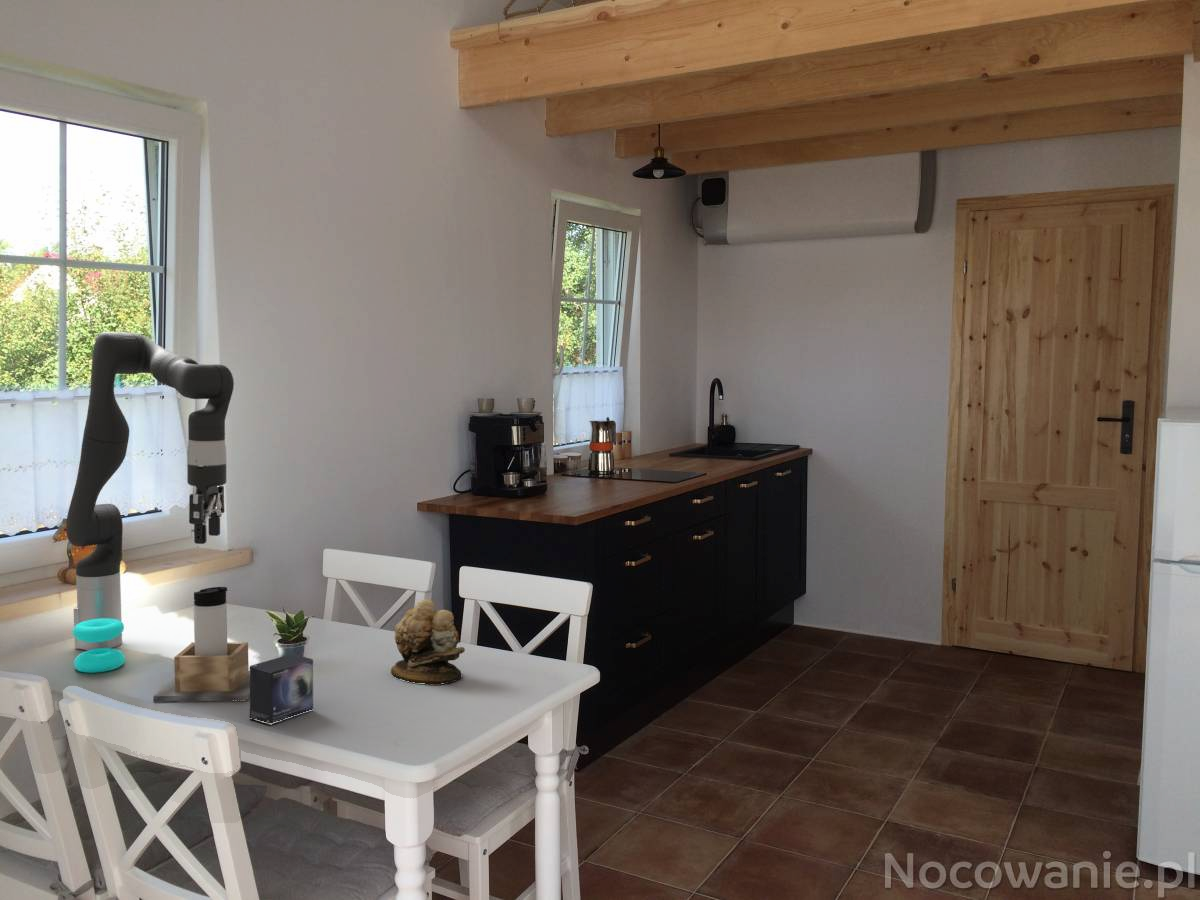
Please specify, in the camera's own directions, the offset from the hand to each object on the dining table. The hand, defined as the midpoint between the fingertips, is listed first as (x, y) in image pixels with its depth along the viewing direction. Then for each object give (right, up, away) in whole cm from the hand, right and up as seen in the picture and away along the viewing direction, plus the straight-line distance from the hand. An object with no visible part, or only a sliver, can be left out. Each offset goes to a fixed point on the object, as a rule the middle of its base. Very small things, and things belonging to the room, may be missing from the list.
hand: (207, 539), depth 210 cm
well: (+2, -31, -2) cm, 31 cm away
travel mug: (+2, -30, -2) cm, 30 cm away
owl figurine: (+44, -31, +9) cm, 54 cm away
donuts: (-28, -29, +12) cm, 42 cm away
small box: (+21, -32, -16) cm, 42 cm away
